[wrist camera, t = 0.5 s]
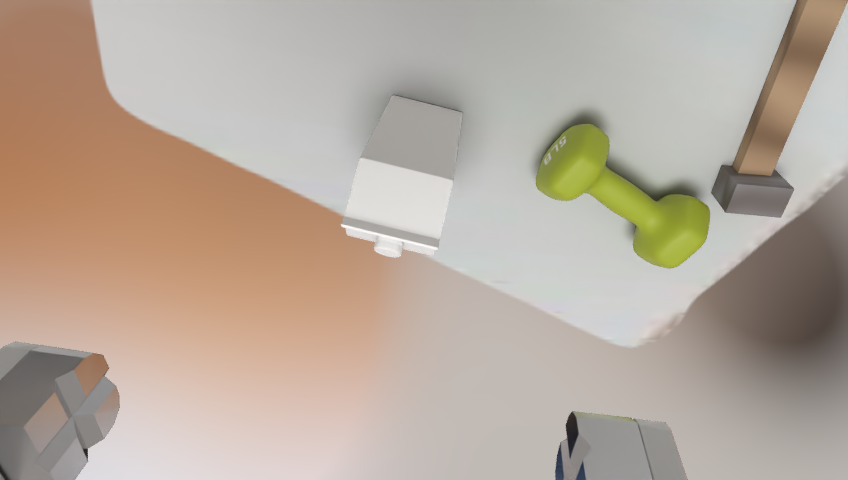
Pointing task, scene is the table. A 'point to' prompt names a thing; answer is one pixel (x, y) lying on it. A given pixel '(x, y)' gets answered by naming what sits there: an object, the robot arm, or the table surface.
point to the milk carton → (405, 178)
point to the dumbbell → (623, 197)
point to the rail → (778, 113)
